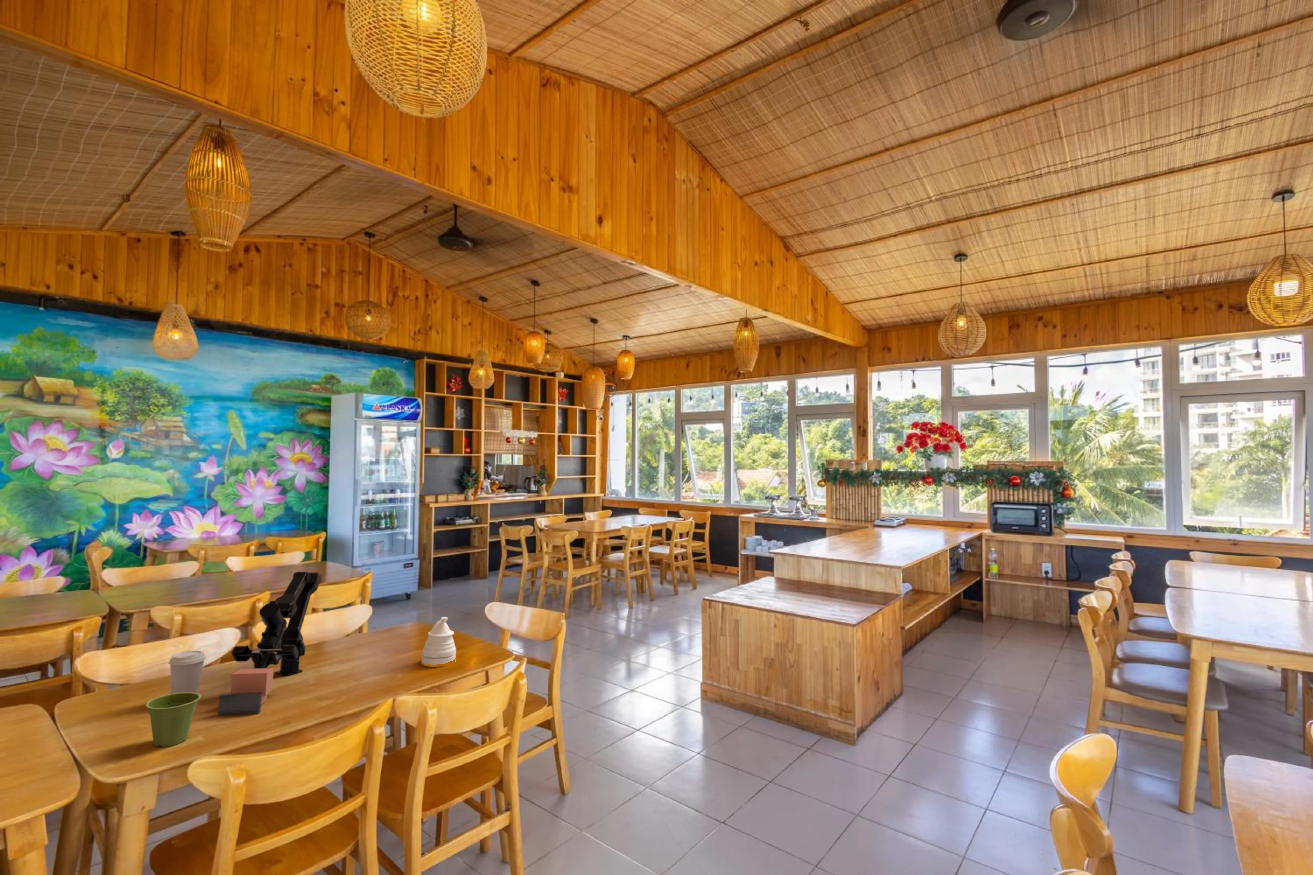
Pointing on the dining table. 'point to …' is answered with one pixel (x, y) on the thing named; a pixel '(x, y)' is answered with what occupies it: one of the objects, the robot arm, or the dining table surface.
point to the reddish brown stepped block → (253, 681)
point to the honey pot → (439, 644)
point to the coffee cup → (186, 671)
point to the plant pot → (172, 717)
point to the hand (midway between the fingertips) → (256, 676)
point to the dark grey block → (240, 703)
